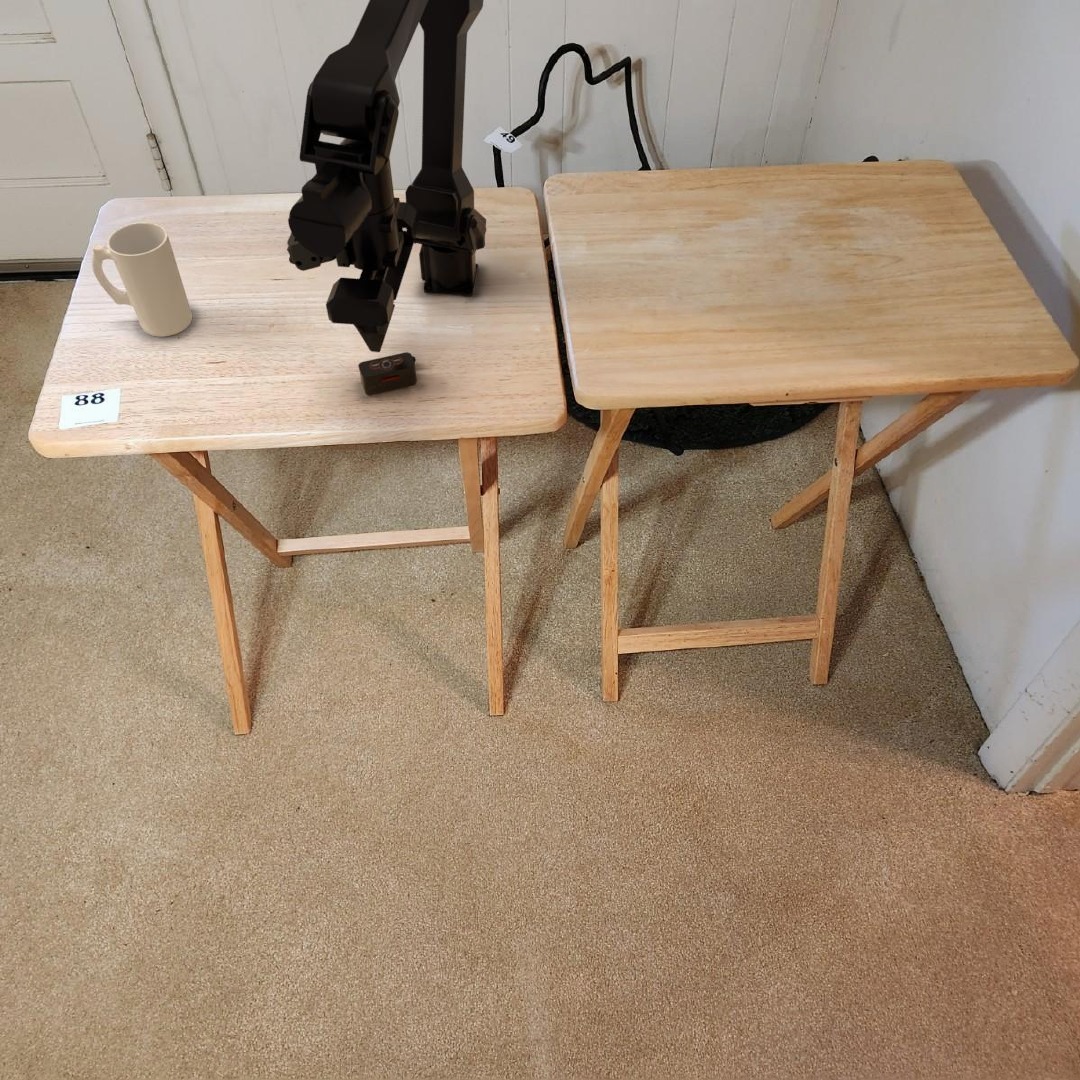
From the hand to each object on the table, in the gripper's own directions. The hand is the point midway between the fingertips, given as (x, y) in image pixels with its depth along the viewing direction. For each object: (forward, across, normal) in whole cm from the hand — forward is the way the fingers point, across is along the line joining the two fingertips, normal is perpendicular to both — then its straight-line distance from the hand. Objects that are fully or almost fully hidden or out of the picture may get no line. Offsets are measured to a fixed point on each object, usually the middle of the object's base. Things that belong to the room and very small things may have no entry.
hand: (383, 324), depth 110 cm
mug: (+8, -7, -32) cm, 33 cm away
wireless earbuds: (+8, 0, 0) cm, 8 cm away
